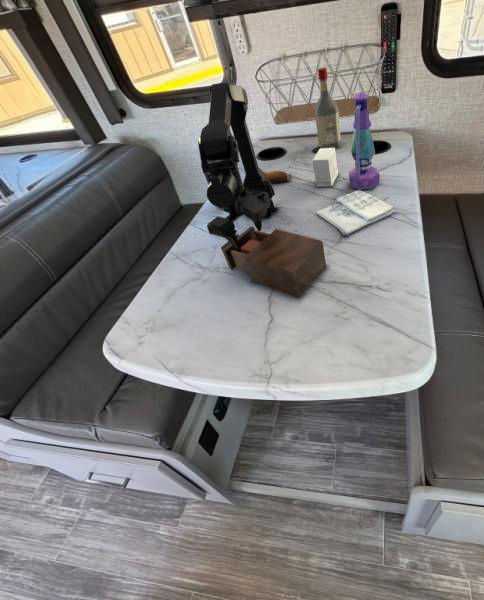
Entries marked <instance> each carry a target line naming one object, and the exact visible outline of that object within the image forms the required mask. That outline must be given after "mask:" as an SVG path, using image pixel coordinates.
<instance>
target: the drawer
mask: <svg viewBox="0 0 484 600" xmlns="http://www.w3.org/2000/svg"><path fill="white" fill-rule="evenodd" d="M269 234H270V233H267V232H265V231H262V230H261V231H258V230H257V229H256V230H255V227H254V226H249V227H248V228H247V229H246V230H245V231H243V232H242V233H241V234H238V233H236V237H237V240H238V243H239V246H240V249H236V248H235V247H234V246H233V245H232V244H231V243H230V242H229V241H228V240H227V241H226V242H225V243H224V244H223V245H221V246H220V250H221V252H222V254H223V257H224V258H225V261H226V264H227V266H228V268H229V270H231V271H234V270H235V269H237V270H239V271H242V272H245V273H247V274H250V271H249V268H248V265H247V263H246V260H245V256H246V255H247V254H244V253H242V250H241V247H242V246H244V245H245V244H246V243H247V242H248V241H249V240H251V239H252V240H255V241H258V242H262V241H263V240H264V239H265V238H266V237H267V236H268V235H269Z"/></svg>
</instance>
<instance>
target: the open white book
mask: <svg viewBox="0 0 484 600" xmlns="http://www.w3.org/2000/svg"><path fill="white" fill-rule="evenodd" d="M394 209H395V207H394V206H393V205H390V204H389V203H388V202H387V203H386V202H384V201H382V200H380V199H378V198H377V197H375V196H373V195H371V194H369V193H366V192H364V191H362V189H357V190H355V191H353V192H350V193H348V194H345V195H343V196H342V195H341V196H340V197H337V198H336V201H335V202H334V203H333V204H332V205H329V206H327V207H325V208H323V209H319V210H317V211H316V212H315V214H316V215H317V216H319V217H320V218H322V219H323V220H325V221H326V222H328V223H330V225H332V226H334V227H335V228H336V229H338V231H339V232H340V233H341V234H342V236H346V237H347V236H349V235H350V234H352V233H354V232H357V231H358V230H360V229H363V228H365V227H366V226H368V225H371V224H374V223H375V222H378V221H380V220H382V219H384V218H386V217H388V216H391V215H393V214H394V213H395V212H396V211H395V210H394Z"/></svg>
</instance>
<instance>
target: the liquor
mask: <svg viewBox="0 0 484 600" xmlns="http://www.w3.org/2000/svg"><path fill="white" fill-rule="evenodd" d="M317 75H318V81H319V91H320V93H319V98H318V100H317V102H316V103H315V105H314V117H315V125H316V134H317V140H318V146H319V147H320V149H321V148H335V150H336V149H339V148H340V147H341V146H342V138H341V136H342V135H341V124H340V111H339V110H340V109H339V106H338V103H337V102H336V101H335V100H334V99H333V98H332V97H331V96H330V95H331V94H330V92H329V82H328V69H327V67H321V68H318V69H317Z"/></svg>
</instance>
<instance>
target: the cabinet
mask: <svg viewBox="0 0 484 600" xmlns="http://www.w3.org/2000/svg"><path fill="white" fill-rule="evenodd" d="M268 234H269V235H268V236H267V237H266V238H265V239H264V240H263V241H262V242H260V243H259V244H258V245H257V246H256V247H255V248H254V249H253V250H252V251H250V252H249V253H248V254H247V255H246V256H245V260H246V263H247V265H248V268H249V271H250V273H249V274H250V277H251V279H252V281H253V282H254V283H257V284H259V285H262V286H265V287H267V288H271V289H273V290H275V291H279V292H282V293H284V294H287V295H290V296H292V297H295V298H298V299H300V298H301V297H302V295H304V293H305V292H306V291H307V290H308V288H309V287H310V286H311V285H312V284H313V282H315V280H316V279H317V278H318V277H319V276H320V274H321V273H322V272H323V271H324V270H325V269H326V267H327V262H326V256H325V249H324V248H325V247H324V241H323V240H320V239H316V238H313V237H309V236H305V235H300V234H296V233H293V232H290V231H286V230H281V229H278V228H275V229H274V230H273V231H272V232H270V233H268Z"/></svg>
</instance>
